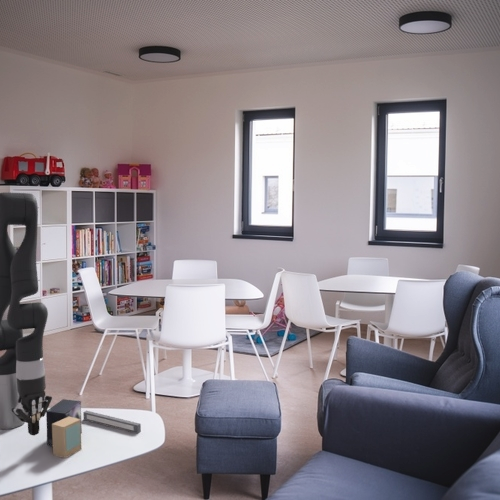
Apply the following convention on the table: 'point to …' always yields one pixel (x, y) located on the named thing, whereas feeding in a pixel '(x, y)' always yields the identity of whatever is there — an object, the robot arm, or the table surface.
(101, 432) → the table surface
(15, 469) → the table surface
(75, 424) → the kraft carton
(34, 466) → the table surface
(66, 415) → the small box
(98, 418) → the rail
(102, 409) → the table surface
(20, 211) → the robot arm
